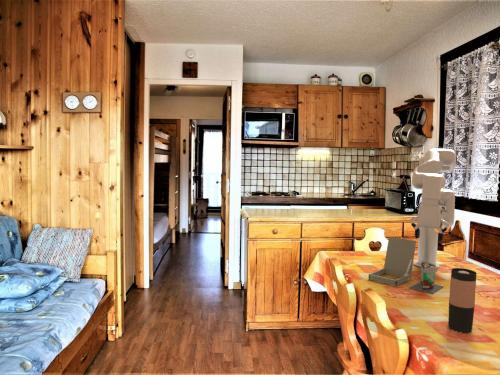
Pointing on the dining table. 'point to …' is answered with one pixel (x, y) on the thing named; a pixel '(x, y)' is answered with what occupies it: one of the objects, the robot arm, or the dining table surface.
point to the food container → (427, 275)
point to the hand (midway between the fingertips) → (428, 239)
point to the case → (397, 262)
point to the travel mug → (462, 300)
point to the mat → (431, 291)
